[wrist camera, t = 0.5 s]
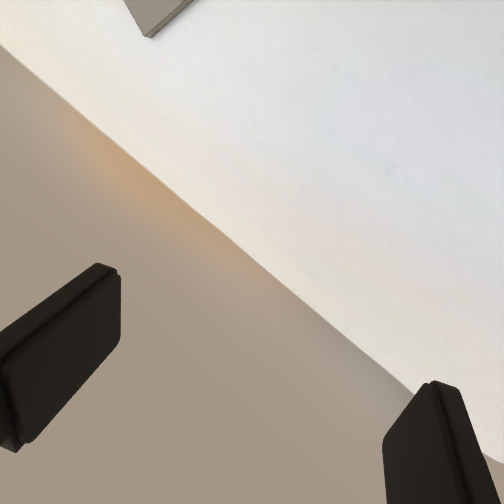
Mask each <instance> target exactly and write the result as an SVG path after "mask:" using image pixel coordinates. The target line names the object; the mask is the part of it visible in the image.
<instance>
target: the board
mask: <svg viewBox="0 0 504 504" xmlns="http://www.w3.org/2000/svg"><path fill="white" fill-rule="evenodd" d="M192 1H193V0H124V2H125V4H126V6H127V7H128V9H129V11H130V13H131V14H132V16H133V18H134V20H135V21H136V23H137V25H138V27H139V28H140V30H141V32H142V34H143V35H144V37H148V38H151V37H152V36H153V35H154V34H156V33H157V32H158V31H159V30H160V29H161V28H162V27H163V26H165V25H166V24H167V23H168V22H169V21H170V20H171V19H173V18H174V17H175V16H176V15H177V14H178V13H179V12H180V11H182V10H183V9H184V8H185V7H186V6H187V5H188V4H190V3H191V2H192Z"/></svg>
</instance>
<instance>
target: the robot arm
mask: <svg viewBox="0 0 504 504" xmlns="http://www.w3.org/2000/svg"><path fill="white" fill-rule="evenodd" d="M120 327H121V277H120V275H118V274H117V270H116V269H115V268H112V267H109V266H106V265H103V264H101V263H95V264H94V265H92V266H91V267H89V268H88V269H87V270H85V271H84V272H82V273H81V274H80V275H78V276H77V277H76V278H74V279H73V280H71V281H70V282H69V283H67V284H66V285H64V286H63V287H62V288H60V289H59V290H57V291H56V292H55V293H53V294H52V295H51V296H49V297H48V298H46V299H45V300H44V301H42V302H41V303H39V304H38V305H37V306H35V307H34V308H33V309H31V310H30V311H28V312H27V313H26V314H24V315H23V316H22V317H20V318H19V319H17V320H16V321H15V322H13V323H12V324H10V325H9V326H8V327H6V328H5V329H4V330H2V331H1V332H0V446H1V447H3V448H5V449H8V450H10V451H12V452H14V453H16V452H18V451H19V449H20V448H21V447H22V446H23V445H24V444H25V443H31V442H32V441H33V440H35V438H36V437H38V435H39V434H40V433H41V432H42V431H43V429H44V428H45V427H46V426H47V425H48V424H49V423H50V421H51V420H52V419H53V418H54V417H55V416H56V415H57V414H58V412H59V411H60V410H61V409H62V408H63V407H64V406H65V404H66V403H67V402H68V401H69V400H70V399H71V398H72V396H73V395H74V394H75V393H76V392H77V391H78V390H79V388H80V387H81V386H82V385H83V384H84V383H85V382H86V380H87V379H88V378H89V377H90V376H91V375H92V374H93V372H94V371H95V370H96V369H97V368H98V367H99V365H100V364H101V363H102V362H103V361H104V360H105V359H106V358H107V356H108V355H109V354H110V353H111V352H112V351H113V349H114V348H115V347H116V346H117V344H118V342H119V340H120V333H121V331H120V330H121V328H120ZM382 453H383V464H384V475H385V487H386V498H387V504H501V503H500V500H499V497H498V494H497V491H496V488H495V486H494V483H493V480H492V477H491V474H490V472H489V469H488V466H487V463H486V461H485V459H484V457H483V454H482V453H481V450H480V447H479V444H478V441H477V438H476V435H475V433H474V430H473V427H472V424H471V421H470V418H469V416H468V413H467V410H466V407H465V404H464V401H463V399H462V396H461V393H460V391H459V390H458V389H457V388H456V387H453V386H450V385H447V384H444V383H441V382H438V381H435V380H434V381H432V382H431V383H430V384H428V383H424V384H423V385H422V386H421V388H420V389H419V390H418V392H417V393H416V394H415V396H414V397H413V399H412V400H411V401H410V403H409V404H408V405H407V407H406V408H405V409H404V411H403V412H402V413H401V415H400V416H399V417H398V419H397V420H396V422H395V423H394V424H393V425H392V427H391V428H390V430H389V431H388V432H387V434H386V435H385V437H384V439H383V444H382Z"/></svg>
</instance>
